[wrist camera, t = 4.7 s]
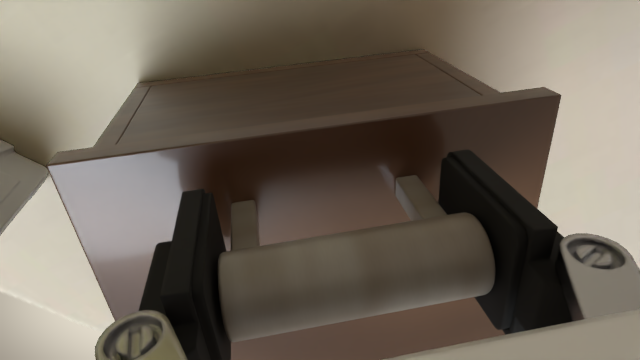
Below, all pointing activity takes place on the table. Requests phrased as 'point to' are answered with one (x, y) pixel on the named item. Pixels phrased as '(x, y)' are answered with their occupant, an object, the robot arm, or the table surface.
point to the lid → (318, 222)
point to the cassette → (16, 182)
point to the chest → (286, 95)
